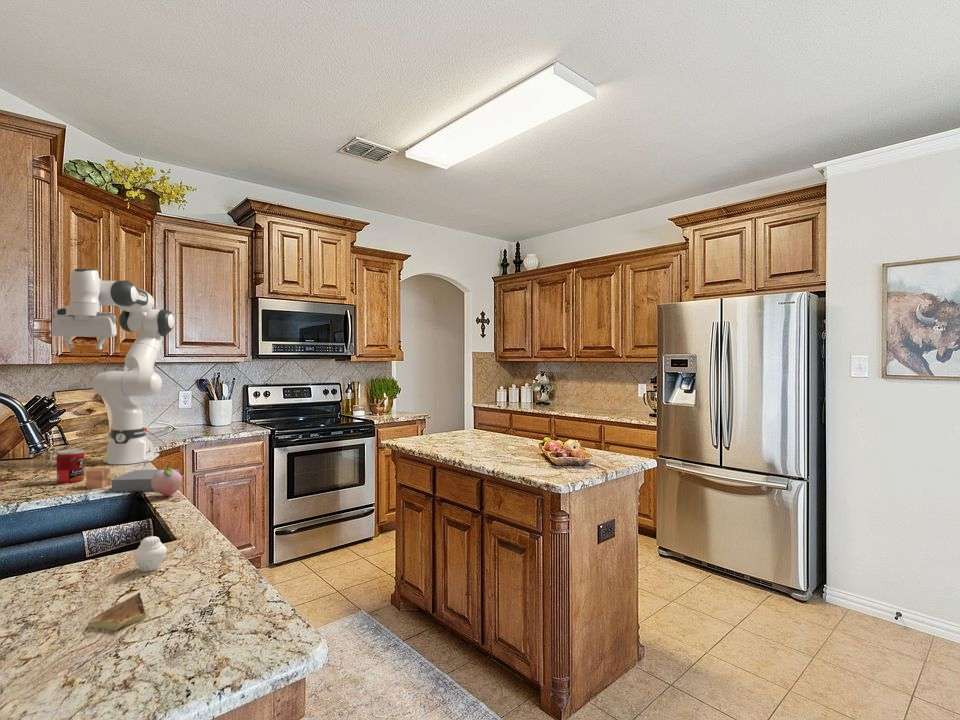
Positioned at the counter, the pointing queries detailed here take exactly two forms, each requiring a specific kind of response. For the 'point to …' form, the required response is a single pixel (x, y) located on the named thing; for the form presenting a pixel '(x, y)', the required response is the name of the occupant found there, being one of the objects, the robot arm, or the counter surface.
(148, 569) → the muffin
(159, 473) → the decorative fruit
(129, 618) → the shard
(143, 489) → the base slab
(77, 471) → the canned food
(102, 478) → the terracotta block
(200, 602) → the counter surface
